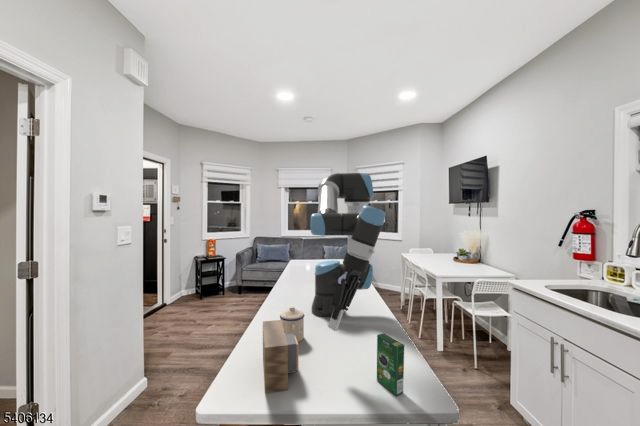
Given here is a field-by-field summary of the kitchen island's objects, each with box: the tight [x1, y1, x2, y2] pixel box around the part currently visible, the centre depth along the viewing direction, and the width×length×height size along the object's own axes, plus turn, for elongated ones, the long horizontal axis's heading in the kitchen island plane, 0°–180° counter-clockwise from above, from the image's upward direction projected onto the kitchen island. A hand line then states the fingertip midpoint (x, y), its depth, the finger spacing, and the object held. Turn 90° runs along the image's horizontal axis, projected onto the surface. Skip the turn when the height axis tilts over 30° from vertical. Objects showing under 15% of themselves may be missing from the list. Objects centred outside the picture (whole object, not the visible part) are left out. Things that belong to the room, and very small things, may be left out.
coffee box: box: [376, 332, 405, 397], centre depth 77 cm, size 8×3×13 cm, turn 29°
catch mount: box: [262, 319, 289, 394], centre depth 84 cm, size 6×18×12 cm, turn 13°
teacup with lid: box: [279, 306, 305, 343], centre depth 106 cm, size 12×9×12 cm
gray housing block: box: [285, 334, 299, 374], centre depth 85 cm, size 9×7×8 cm
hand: (332, 328), depth 88 cm, fingers closed
